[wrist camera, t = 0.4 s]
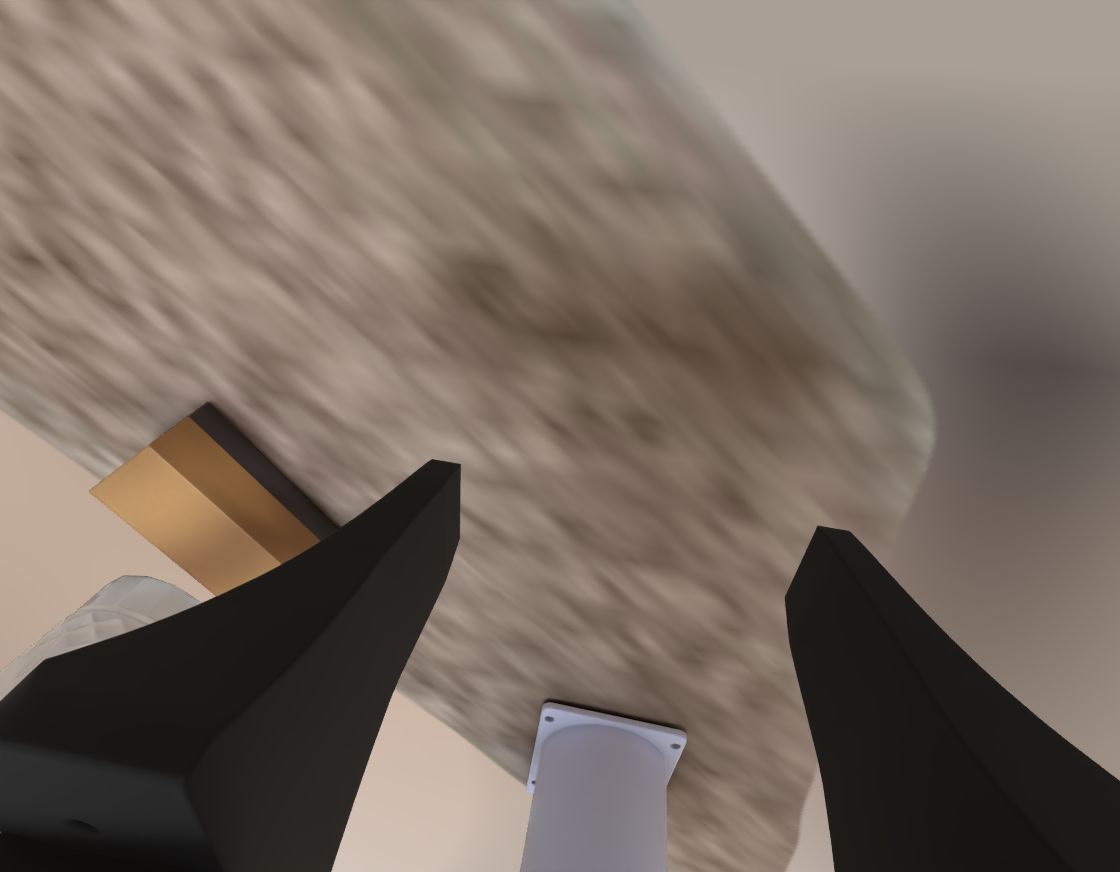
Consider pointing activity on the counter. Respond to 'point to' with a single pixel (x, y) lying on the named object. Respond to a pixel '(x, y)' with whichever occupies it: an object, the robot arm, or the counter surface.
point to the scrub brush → (213, 503)
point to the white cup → (101, 621)
